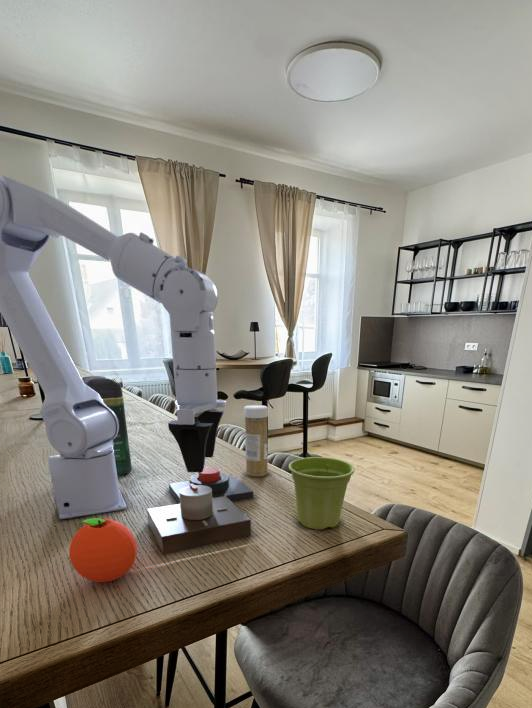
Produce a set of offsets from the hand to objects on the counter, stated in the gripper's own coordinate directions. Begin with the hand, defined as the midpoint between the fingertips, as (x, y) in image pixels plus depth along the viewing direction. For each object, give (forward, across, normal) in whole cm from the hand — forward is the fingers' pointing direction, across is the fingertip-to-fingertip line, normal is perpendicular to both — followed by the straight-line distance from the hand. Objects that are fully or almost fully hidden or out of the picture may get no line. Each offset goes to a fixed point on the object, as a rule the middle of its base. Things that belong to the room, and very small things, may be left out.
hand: (201, 463), depth 61 cm
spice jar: (+8, +20, -7) cm, 23 cm away
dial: (+5, -6, 0) cm, 8 cm away
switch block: (+8, +8, +1) cm, 11 cm away
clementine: (+8, -19, +8) cm, 22 cm away
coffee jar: (+8, +20, +23) cm, 31 cm away
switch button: (+5, +8, +1) cm, 10 cm away
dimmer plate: (+8, -6, 0) cm, 10 cm away
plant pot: (+8, -2, -18) cm, 20 cm away
